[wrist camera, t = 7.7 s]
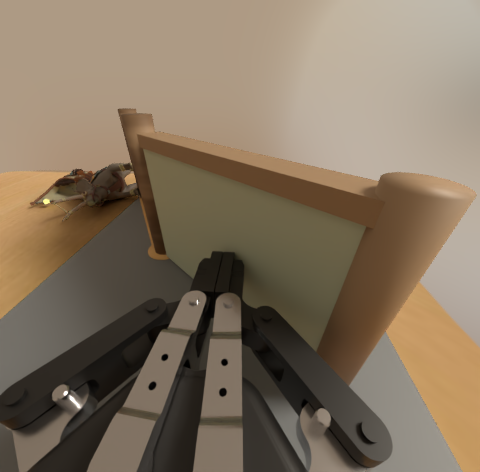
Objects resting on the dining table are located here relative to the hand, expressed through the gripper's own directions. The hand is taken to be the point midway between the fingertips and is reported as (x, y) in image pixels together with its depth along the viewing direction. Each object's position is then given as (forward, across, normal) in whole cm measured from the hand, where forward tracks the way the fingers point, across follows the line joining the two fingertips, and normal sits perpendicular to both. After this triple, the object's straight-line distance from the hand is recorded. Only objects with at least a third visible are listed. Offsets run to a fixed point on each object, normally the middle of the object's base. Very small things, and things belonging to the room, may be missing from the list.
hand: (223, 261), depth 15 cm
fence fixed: (+16, +13, +6) cm, 21 cm away
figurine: (+23, +26, +7) cm, 36 cm away
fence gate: (+1, 0, +6) cm, 6 cm away
